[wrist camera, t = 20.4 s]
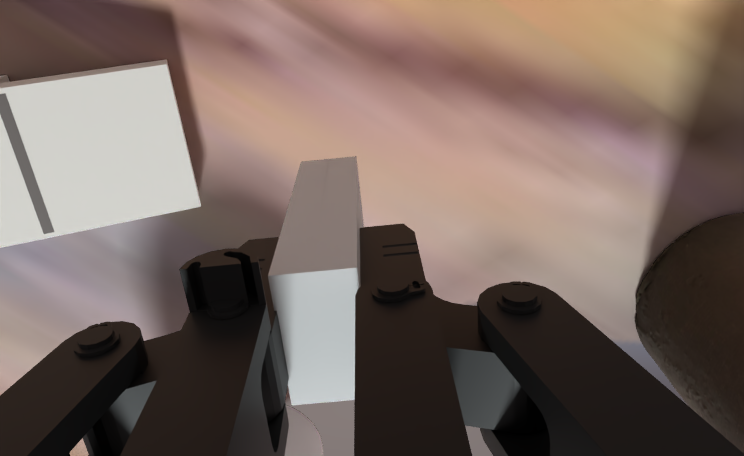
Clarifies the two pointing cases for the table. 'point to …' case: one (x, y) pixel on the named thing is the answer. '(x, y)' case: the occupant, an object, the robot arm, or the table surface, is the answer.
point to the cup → (302, 435)
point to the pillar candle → (700, 321)
